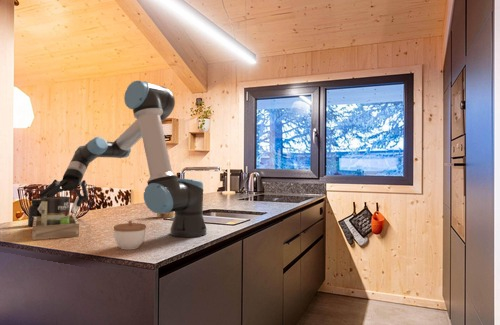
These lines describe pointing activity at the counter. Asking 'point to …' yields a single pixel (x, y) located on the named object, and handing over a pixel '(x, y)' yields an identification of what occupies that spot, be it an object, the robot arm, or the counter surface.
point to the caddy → (55, 229)
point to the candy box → (165, 214)
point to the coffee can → (55, 210)
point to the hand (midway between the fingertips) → (56, 211)
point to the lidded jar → (129, 235)
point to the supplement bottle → (33, 211)
